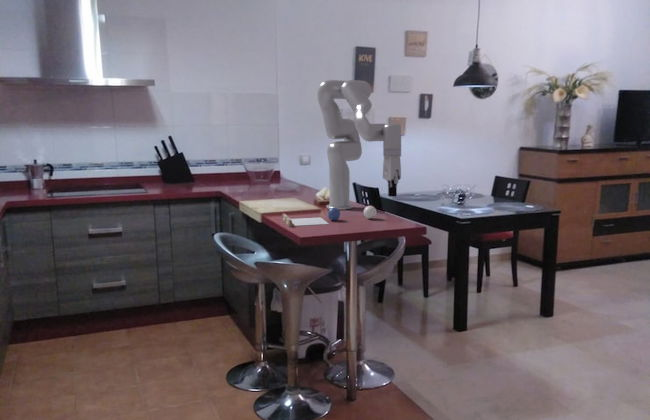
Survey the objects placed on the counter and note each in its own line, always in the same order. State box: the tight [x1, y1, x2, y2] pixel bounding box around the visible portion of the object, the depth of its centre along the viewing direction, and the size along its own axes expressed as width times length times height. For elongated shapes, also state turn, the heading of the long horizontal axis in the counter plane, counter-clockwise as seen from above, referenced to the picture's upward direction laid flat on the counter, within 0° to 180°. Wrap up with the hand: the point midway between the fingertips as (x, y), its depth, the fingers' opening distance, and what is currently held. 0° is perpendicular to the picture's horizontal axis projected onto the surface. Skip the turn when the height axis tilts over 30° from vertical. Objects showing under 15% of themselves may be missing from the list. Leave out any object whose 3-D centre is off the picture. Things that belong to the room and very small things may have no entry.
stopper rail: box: [282, 213, 293, 228], centre depth 220 cm, size 16×1×2 cm, turn 14°
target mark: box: [290, 217, 330, 227], centre depth 223 cm, size 14×14×1 cm
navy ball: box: [326, 208, 341, 222], centre depth 225 cm, size 6×6×6 cm
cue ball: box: [363, 205, 377, 220], centre depth 229 cm, size 6×6×6 cm
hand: (392, 196), depth 229 cm, fingers closed
